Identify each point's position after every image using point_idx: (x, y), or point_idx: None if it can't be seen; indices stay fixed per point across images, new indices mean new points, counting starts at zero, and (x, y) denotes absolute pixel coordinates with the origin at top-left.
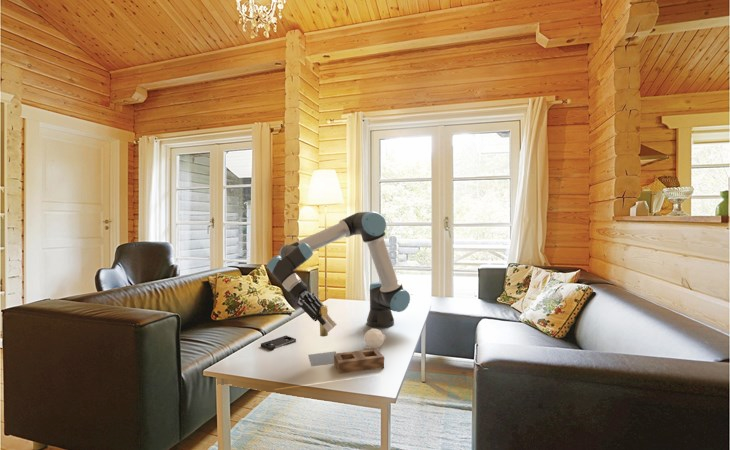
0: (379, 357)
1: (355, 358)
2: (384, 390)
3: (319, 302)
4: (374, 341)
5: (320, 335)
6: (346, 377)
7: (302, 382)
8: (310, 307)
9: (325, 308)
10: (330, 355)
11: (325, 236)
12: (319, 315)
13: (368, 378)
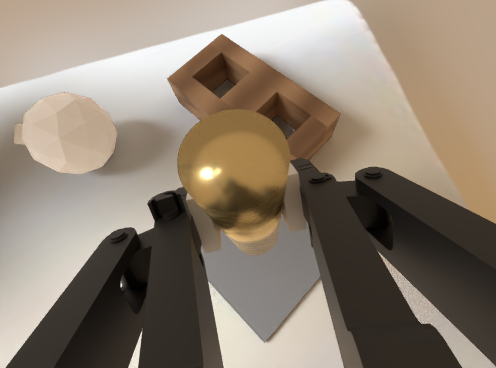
0: (231, 41)
1: (278, 89)
2: (332, 13)
3: (72, 344)
4: (106, 114)
5: (275, 242)
6: None
7: (448, 197)
8: (467, 244)
9: (255, 120)
10: (225, 244)
11: None
12: (330, 175)
13: (301, 64)
